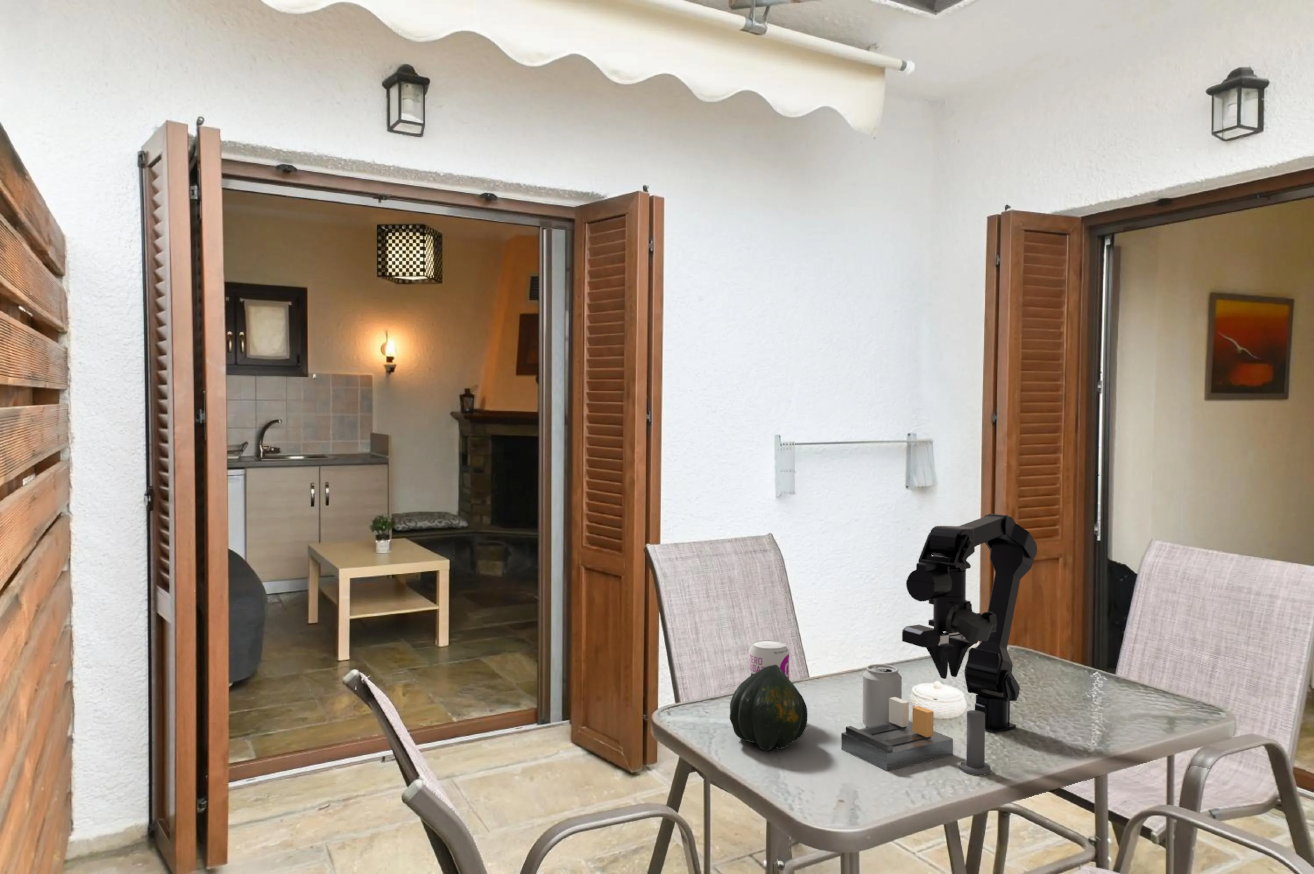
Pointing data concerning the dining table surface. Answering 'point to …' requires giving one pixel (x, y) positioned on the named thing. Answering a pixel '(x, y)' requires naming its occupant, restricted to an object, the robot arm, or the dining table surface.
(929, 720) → the slider
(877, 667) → the can
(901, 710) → the slider
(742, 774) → the dining table surface
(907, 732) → the breaker block
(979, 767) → the rubber post
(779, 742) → the squash
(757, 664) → the supplement can
